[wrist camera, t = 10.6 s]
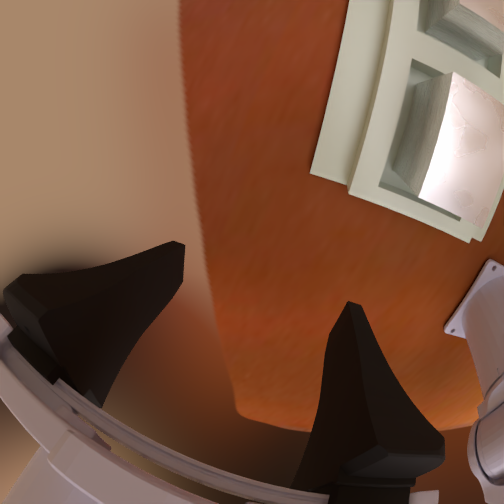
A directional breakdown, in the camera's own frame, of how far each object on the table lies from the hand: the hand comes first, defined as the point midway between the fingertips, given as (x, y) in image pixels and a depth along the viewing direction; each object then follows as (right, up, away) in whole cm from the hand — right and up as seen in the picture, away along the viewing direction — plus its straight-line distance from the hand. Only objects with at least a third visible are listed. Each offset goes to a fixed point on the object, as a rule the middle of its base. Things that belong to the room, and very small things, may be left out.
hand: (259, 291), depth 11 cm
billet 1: (+13, +17, -4) cm, 21 cm away
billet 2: (+11, +9, +2) cm, 14 cm away
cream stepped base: (+12, +13, 0) cm, 18 cm away
